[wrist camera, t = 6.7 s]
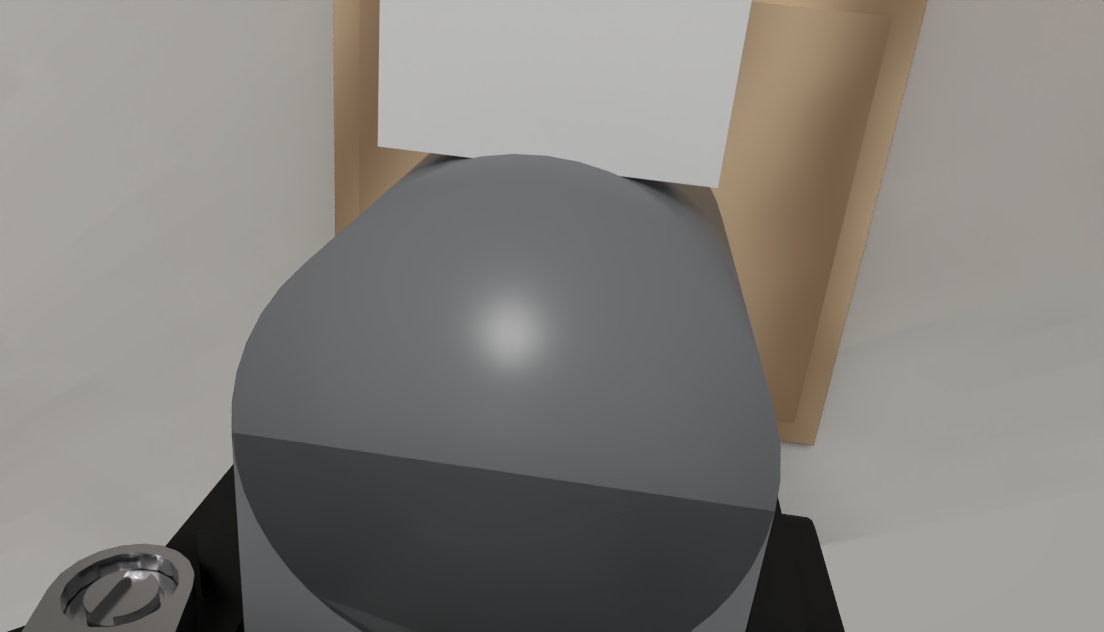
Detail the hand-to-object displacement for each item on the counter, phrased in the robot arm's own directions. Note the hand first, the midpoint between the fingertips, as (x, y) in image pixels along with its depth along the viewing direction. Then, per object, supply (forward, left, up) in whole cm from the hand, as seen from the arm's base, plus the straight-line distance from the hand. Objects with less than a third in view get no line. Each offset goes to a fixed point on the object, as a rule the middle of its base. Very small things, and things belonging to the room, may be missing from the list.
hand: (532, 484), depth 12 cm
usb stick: (0, -1, -1) cm, 1 cm away
